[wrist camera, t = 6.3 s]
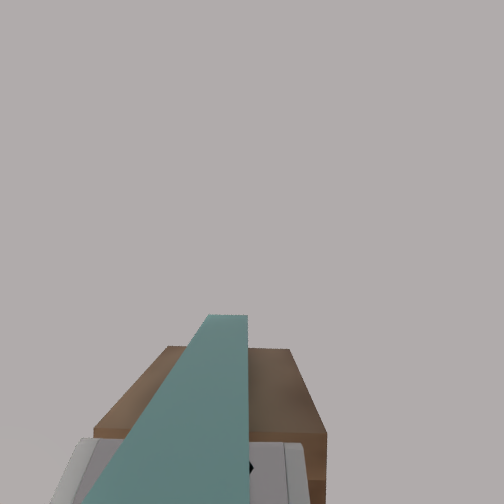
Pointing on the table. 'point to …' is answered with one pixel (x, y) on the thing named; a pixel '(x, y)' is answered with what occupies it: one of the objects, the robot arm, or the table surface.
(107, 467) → the teal tile bar
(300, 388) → the walnut stand
